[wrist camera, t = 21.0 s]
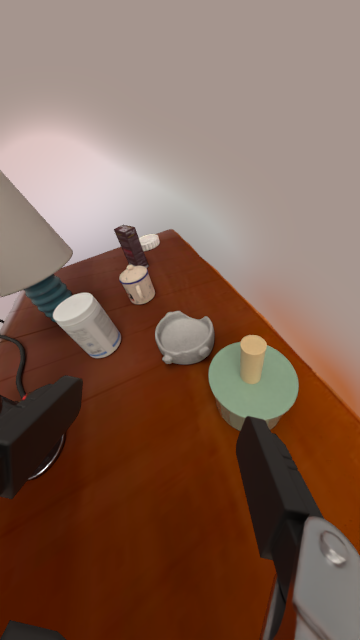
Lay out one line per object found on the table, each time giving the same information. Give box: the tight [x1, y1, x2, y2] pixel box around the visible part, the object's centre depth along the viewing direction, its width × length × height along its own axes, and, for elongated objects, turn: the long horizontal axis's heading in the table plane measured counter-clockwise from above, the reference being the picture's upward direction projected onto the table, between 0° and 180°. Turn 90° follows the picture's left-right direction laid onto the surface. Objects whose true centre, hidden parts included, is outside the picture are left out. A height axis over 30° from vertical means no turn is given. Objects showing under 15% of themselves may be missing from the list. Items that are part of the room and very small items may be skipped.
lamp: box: [0, 170, 73, 322], centre depth 52 cm, size 25×25×39 cm
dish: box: [155, 311, 214, 364], centre depth 44 cm, size 14×14×5 cm
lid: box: [209, 335, 299, 421], centre depth 26 cm, size 12×12×9 cm
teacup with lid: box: [119, 265, 155, 304], centre depth 59 cm, size 12×9×12 cm
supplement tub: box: [53, 293, 121, 358], centre depth 47 cm, size 10×10×15 cm
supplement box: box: [114, 225, 149, 268], centre depth 75 cm, size 9×5×16 cm, turn 43°
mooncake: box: [139, 234, 160, 251], centre depth 93 cm, size 12×12×4 cm
